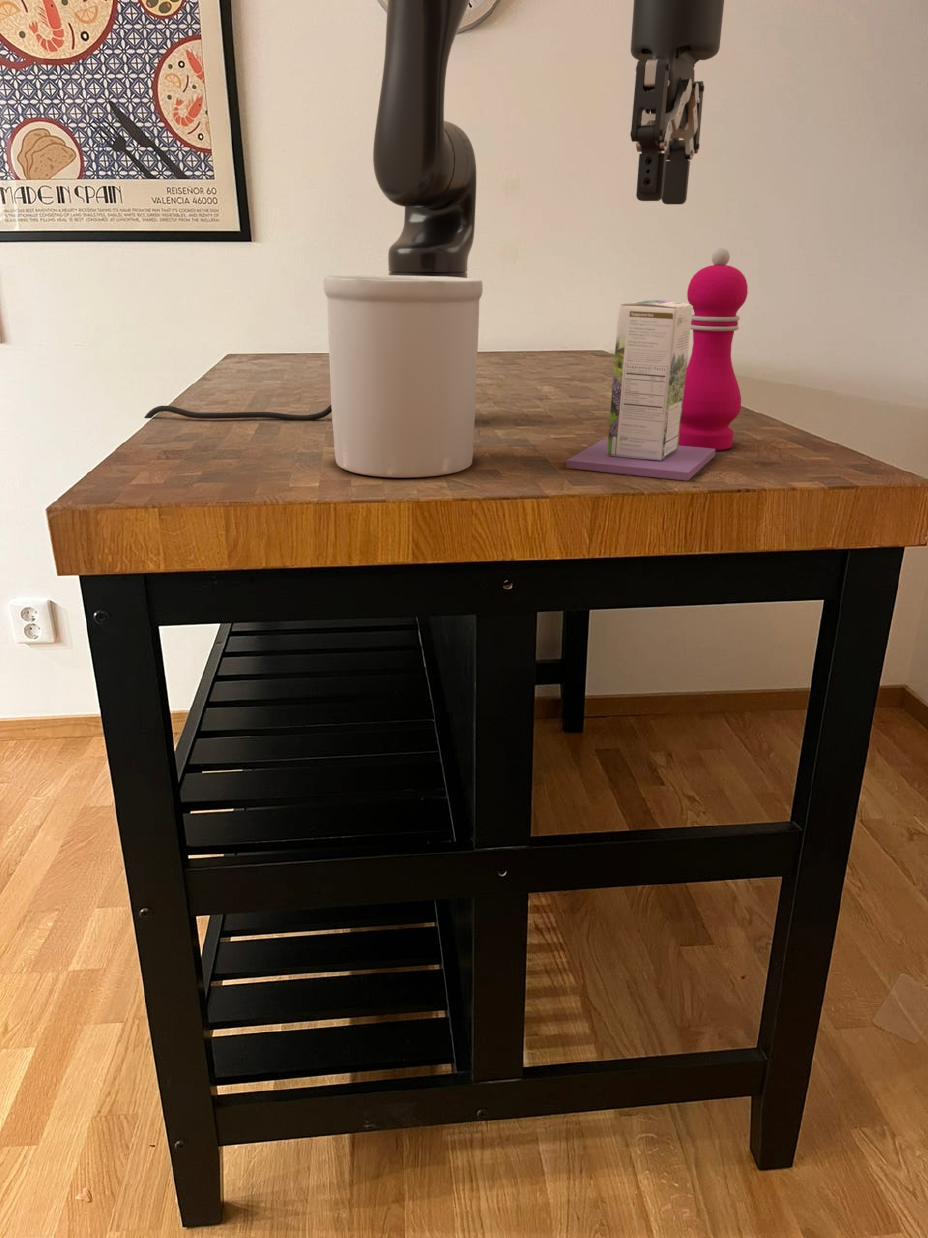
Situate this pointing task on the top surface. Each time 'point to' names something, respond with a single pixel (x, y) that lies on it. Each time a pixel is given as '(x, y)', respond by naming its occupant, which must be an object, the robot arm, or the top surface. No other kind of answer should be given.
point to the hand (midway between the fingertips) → (661, 202)
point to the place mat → (643, 462)
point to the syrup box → (649, 378)
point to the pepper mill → (712, 356)
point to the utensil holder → (403, 372)
